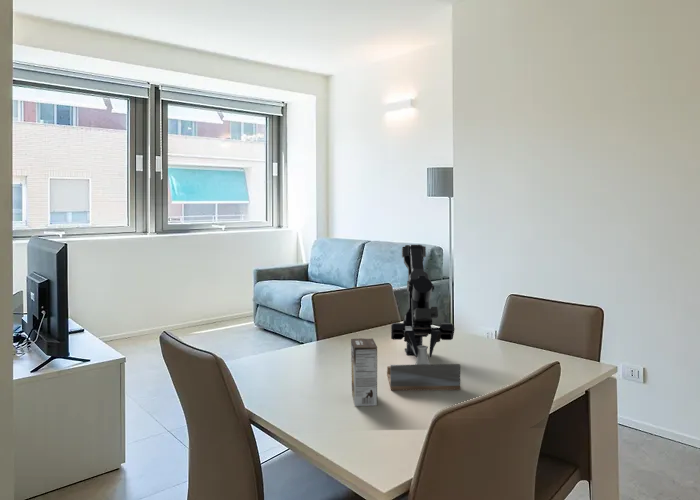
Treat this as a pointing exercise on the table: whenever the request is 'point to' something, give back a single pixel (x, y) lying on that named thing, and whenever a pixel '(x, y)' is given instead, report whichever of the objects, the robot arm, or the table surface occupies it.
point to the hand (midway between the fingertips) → (423, 356)
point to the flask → (422, 355)
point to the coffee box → (364, 372)
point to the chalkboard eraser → (424, 377)
